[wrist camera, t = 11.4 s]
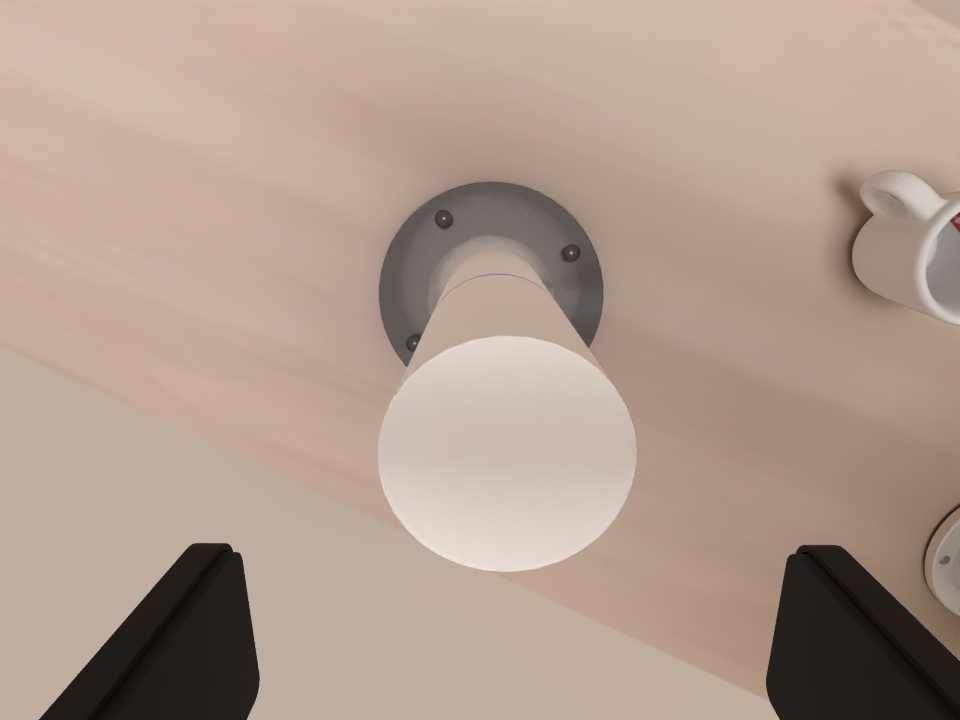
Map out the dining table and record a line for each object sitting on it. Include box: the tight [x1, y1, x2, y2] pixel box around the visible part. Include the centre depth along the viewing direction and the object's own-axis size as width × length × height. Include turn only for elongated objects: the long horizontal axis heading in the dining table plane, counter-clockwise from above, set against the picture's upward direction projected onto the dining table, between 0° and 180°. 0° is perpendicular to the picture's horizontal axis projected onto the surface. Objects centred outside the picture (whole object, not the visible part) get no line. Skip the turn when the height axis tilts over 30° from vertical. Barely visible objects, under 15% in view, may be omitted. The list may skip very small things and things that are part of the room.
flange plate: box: [379, 182, 603, 367], centre depth 40 cm, size 16×16×1 cm
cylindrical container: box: [378, 251, 637, 572], centre depth 27 cm, size 7×7×25 cm
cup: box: [852, 170, 960, 326], centre depth 35 cm, size 11×8×8 cm
